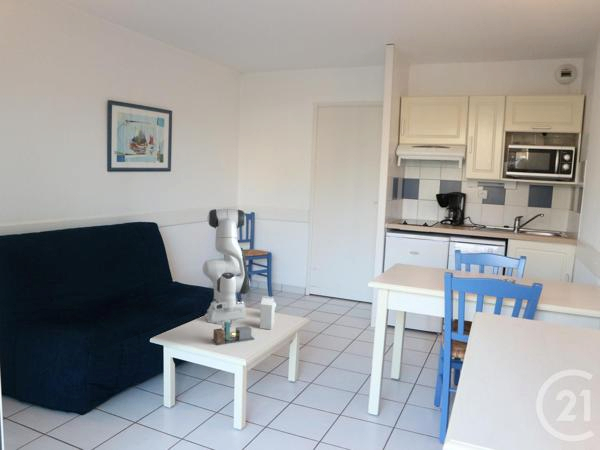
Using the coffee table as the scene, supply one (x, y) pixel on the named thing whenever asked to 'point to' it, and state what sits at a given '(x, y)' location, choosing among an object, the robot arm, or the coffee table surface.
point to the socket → (219, 335)
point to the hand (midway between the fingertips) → (226, 327)
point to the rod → (228, 333)
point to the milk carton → (267, 312)
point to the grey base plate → (243, 336)
